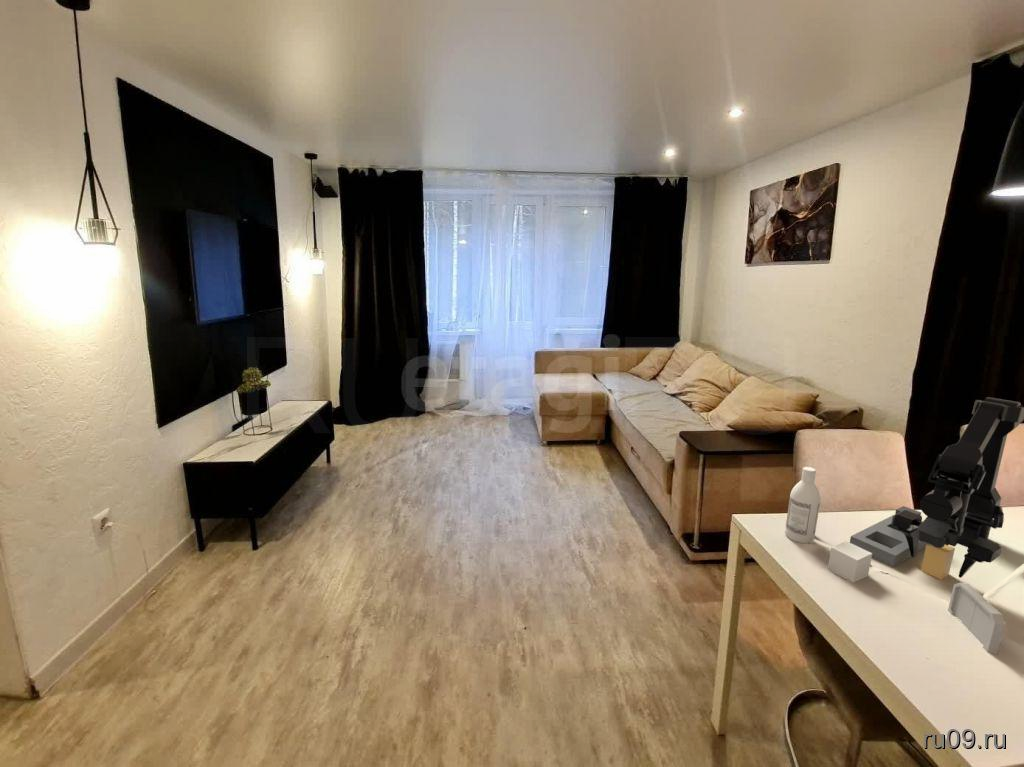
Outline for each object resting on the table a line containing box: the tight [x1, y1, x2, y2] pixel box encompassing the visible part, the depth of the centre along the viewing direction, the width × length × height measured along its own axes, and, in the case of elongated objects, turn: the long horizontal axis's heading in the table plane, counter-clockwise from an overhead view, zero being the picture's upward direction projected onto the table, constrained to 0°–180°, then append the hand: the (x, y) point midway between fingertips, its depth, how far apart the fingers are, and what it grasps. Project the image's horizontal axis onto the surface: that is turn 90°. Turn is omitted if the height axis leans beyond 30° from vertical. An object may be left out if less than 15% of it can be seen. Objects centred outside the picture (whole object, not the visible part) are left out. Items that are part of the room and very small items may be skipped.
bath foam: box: [784, 466, 821, 544], centre depth 132 cm, size 7×7×20 cm
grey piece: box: [849, 514, 928, 567], centre depth 129 cm, size 22×10×4 cm, turn 119°
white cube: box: [827, 540, 873, 583], centre depth 119 cm, size 6×6×6 cm
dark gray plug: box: [892, 505, 922, 532], centre depth 131 cm, size 4×4×8 cm
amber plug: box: [920, 544, 956, 580], centre depth 117 cm, size 4×4×8 cm
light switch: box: [947, 582, 1006, 655], centre depth 99 cm, size 2×12×8 cm, turn 168°
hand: (936, 566), depth 117 cm, fingers open, 9 cm apart
